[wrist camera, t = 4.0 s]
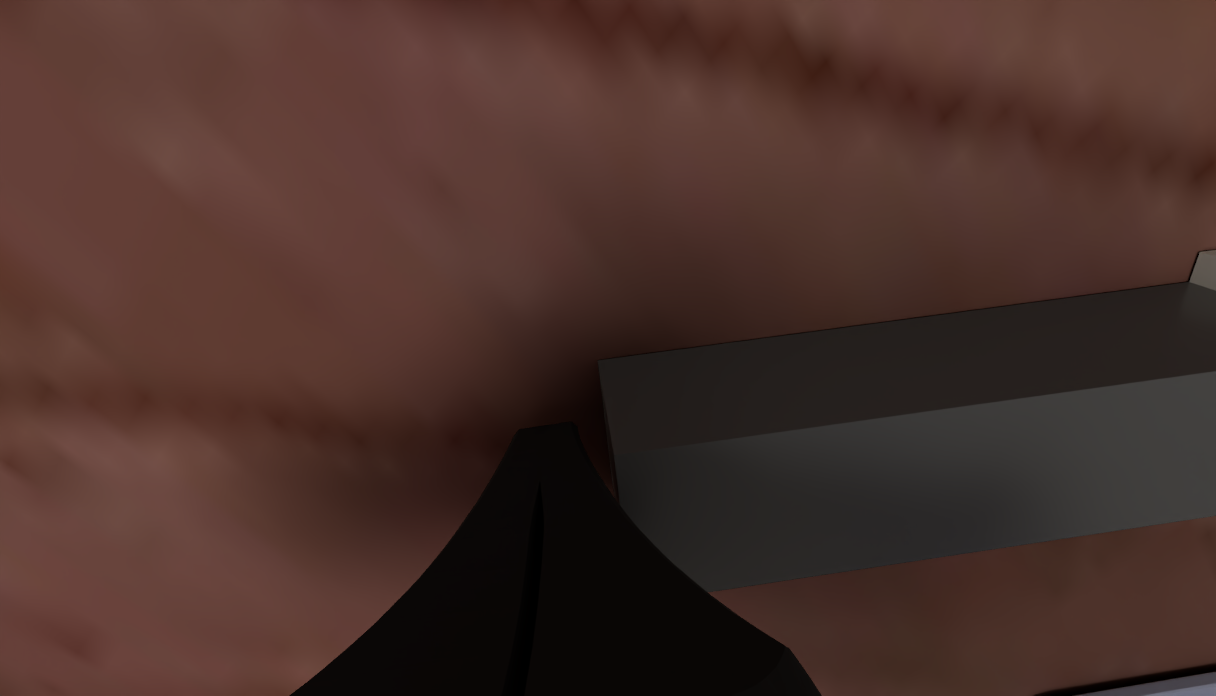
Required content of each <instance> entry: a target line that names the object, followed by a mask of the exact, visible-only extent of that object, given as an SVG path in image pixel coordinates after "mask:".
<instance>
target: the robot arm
mask: <svg viewBox="0 0 1216 696" xmlns="http://www.w3.org/2000/svg"><path fill="white" fill-rule="evenodd" d="M290 696H821V694H820V692H819V691H818V689H817V688H816V686H815V685H814V683H813V682H812V680H811V678H810V677H809V675H808V674H807V673H806V671H805V670H804V668H803V667H802V665H801V664H800V663H799V661H798V660H797V658H796V657H795V656H794V654H793V653H792V651H791V650H790V649H789V648H788V647H786V646H784V645H783V644H781V643H780V642H778V641H776V640H775V639H773V638H772V637H770V636H768V635H767V634H765V633H764V632H762V631H761V630H759V629H757V628H756V627H754V626H753V625H751V624H750V623H749V622H747V621H746V620H744V619H743V618H741V617H740V616H738V615H737V614H735V613H734V612H733V611H731V610H730V609H729V608H727V607H726V606H725V605H723V604H722V603H721V602H719V601H718V600H717V599H715V598H714V597H712V596H711V595H710V594H709V593H707V592H706V591H705V590H704V589H703V588H702V587H700V586H699V585H698V584H697V583H696V582H694V581H693V580H692V579H691V578H690V577H689V576H687V575H686V574H685V573H684V572H683V571H682V570H680V569H679V568H678V567H677V566H676V565H674V564H673V563H672V562H671V561H670V560H669V559H668V558H667V557H666V556H665V555H664V554H663V553H662V552H661V551H660V550H659V549H658V548H657V547H656V546H655V545H654V544H653V543H652V542H651V541H650V540H649V539H648V538H647V537H646V536H645V534H644V533H643V532H642V531H641V530H640V529H639V528H638V527H637V526H636V524H635V523H634V522H633V521H632V520H631V519H630V517H629V516H628V515H627V514H626V512H625V511H624V510H623V509H622V507H621V506H620V505H619V503H618V502H617V501H616V499H615V498H614V497H613V495H612V494H611V492H610V491H609V490H608V488H607V487H606V485H605V484H604V482H603V480H602V479H601V477H600V476H599V474H598V473H597V471H596V469H595V468H594V466H593V464H592V463H591V461H590V459H589V457H588V455H587V453H586V451H585V449H584V447H583V445H582V442H581V440H580V437H579V433H578V427H577V426H576V425H575V424H573V423H572V422H565V423H559V424H552V425H545V426H538V427H532V428H525V429H519V430H518V431H517V433H516V434H515V435H514V437H513V439H512V441H511V443H510V445H509V447H508V449H507V451H506V453H505V455H504V457H503V459H502V461H501V462H500V464H499V466H498V468H497V470H496V471H495V473H494V475H493V477H492V478H491V480H490V482H489V483H488V485H487V486H486V488H485V490H484V491H483V493H482V495H481V496H480V498H479V500H478V501H477V503H476V504H475V506H474V507H473V509H472V510H471V511H470V513H469V514H468V516H467V517H466V519H465V520H464V522H463V523H462V524H461V526H460V527H459V529H458V530H457V532H456V533H455V534H454V536H453V537H452V538H451V540H450V541H449V542H448V544H447V545H446V546H445V548H444V549H443V550H442V551H441V553H440V554H439V555H438V556H437V558H436V559H435V560H434V561H433V562H432V564H431V565H430V566H429V567H428V568H427V569H426V571H425V572H424V573H423V574H422V575H421V577H420V578H419V579H418V580H417V581H416V582H415V583H414V584H413V585H412V586H411V587H410V589H409V590H408V591H407V592H406V593H405V594H404V595H403V596H402V597H401V598H400V599H399V600H398V601H397V602H396V603H395V604H394V605H393V606H392V607H391V608H390V609H389V610H388V611H387V612H386V613H385V614H384V615H383V616H382V617H381V618H380V619H379V620H378V621H377V622H376V623H375V624H374V625H373V626H372V627H371V628H369V629H368V630H367V631H366V632H365V633H364V634H363V635H362V636H361V637H360V638H358V639H357V640H356V641H355V642H354V643H353V644H352V645H351V646H350V647H348V648H347V649H346V650H345V651H344V652H343V653H341V654H340V655H339V656H338V657H337V658H336V659H334V660H333V661H332V662H331V663H330V664H328V665H327V666H326V667H325V668H324V669H323V670H321V671H320V672H319V673H318V674H316V675H315V676H314V677H313V678H312V679H310V680H309V681H308V682H307V683H305V684H304V685H303V686H301V687H300V688H299V689H297V690H296V691H295V692H294V693H292V694H291V695H290ZM1074 696H1216V672H1210V673H1204V674H1198V675H1192V676H1186V677H1180V678H1174V679H1168V680H1162V681H1156V682H1151V683H1145V684H1139V685H1133V686H1127V687H1121V688H1115V689H1109V690H1103V691H1097V692H1091V693H1085V694H1079V695H1074Z"/></svg>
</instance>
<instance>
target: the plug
mask: <svg viewBox="0 0 1216 696" xmlns="http://www.w3.org/2000/svg"><path fill="white" fill-rule="evenodd" d="M598 368H599V376H600V385H601V393H602V401H603V410H604V418H605V426H606V434H607V443H608V451H609V459H610V467H611V476H612V484H613V491H614V497H615V499H616V501H617V502H618V503H619V505H620V506H621V507H622V509H623V510H624V511H625V512H626V514H627V515H628V516H629V517H630V519H631V520H632V521H633V522H634V523H635V524H636V526H637V527H638V528H639V529H640V530H641V531H642V532H643V533H644V534H645V536H646V537H647V538H648V539H649V540H650V541H651V542H652V543H653V544H654V545H655V546H656V547H657V548H658V549H659V550H660V551H661V552H662V553H663V554H664V555H665V556H666V557H667V558H668V559H669V560H670V561H671V562H672V563H673V564H674V565H676V566H677V567H678V568H679V569H680V570H682V571H683V572H684V573H685V574H686V575H687V576H689V577H690V578H691V579H692V580H693V581H694V582H696V583H697V584H698V585H699V586H700V587H702V588H703V589H704V590H705V591H706V592H713V591H720V590H726V589H733V588H740V587H746V586H753V585H759V584H766V583H773V582H779V581H786V580H793V579H799V578H806V577H813V576H819V575H826V574H832V573H839V572H846V571H852V570H859V569H866V568H872V567H879V566H886V565H892V564H899V563H905V562H912V561H919V560H925V559H932V558H939V557H945V556H952V555H959V554H965V553H972V552H978V551H985V550H992V549H998V548H1005V547H1012V546H1018V545H1025V544H1032V543H1038V542H1045V541H1051V540H1058V539H1065V538H1071V537H1078V536H1085V535H1091V534H1098V533H1105V532H1111V531H1118V530H1124V529H1131V528H1138V527H1144V526H1151V525H1158V524H1164V523H1171V522H1177V521H1184V520H1191V519H1197V518H1204V517H1211V516H1216V250H1211V251H1203V252H1200V253H1199V256H1198V259H1197V262H1196V264H1195V267H1194V270H1193V273H1192V276H1191V278H1190V281H1189V282H1185V283H1177V284H1170V285H1162V286H1154V287H1147V288H1139V289H1132V290H1124V291H1117V292H1109V293H1102V294H1094V295H1087V296H1079V297H1072V298H1064V299H1056V300H1049V301H1041V302H1034V303H1026V304H1019V305H1011V306H1004V307H996V308H989V309H981V310H974V311H966V312H959V313H951V314H943V315H936V316H928V317H921V318H913V319H906V320H898V321H891V322H883V323H876V324H868V325H861V326H853V327H846V328H838V329H830V330H823V331H815V332H808V333H800V334H793V335H785V336H778V337H770V338H763V339H755V340H748V341H740V342H732V343H725V344H717V345H710V346H702V347H695V348H687V349H680V350H672V351H665V352H657V353H650V354H642V355H635V356H627V357H619V358H612V359H604V360H598Z"/></svg>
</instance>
